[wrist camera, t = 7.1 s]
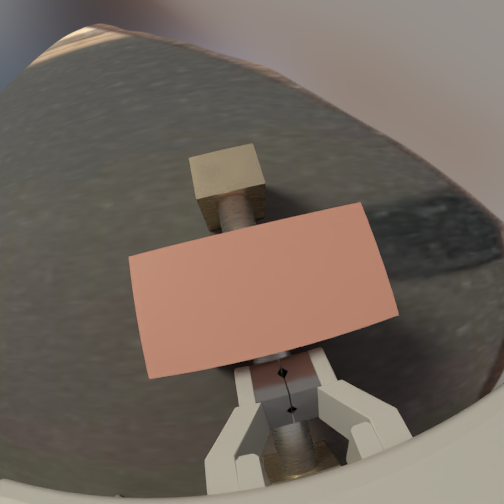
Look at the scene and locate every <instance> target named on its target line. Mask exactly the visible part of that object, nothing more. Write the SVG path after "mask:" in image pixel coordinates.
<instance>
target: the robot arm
mask: <svg viewBox="0 0 504 504" xmlns="http://www.w3.org/2000/svg"><path fill="white" fill-rule="evenodd" d="M234 375H235V382H236V388H237V395H238V401H239V407H236V408H235V409H234V411H233V412H232V414H231V416H230V418H229V419H228V421H227V423H226V425H225V426H224V428H223V430H222V432H221V433H220V435H219V437H218V439H217V440H216V442H215V444H214V445H213V447H212V449H211V450H210V452H209V454H208V455H207V457H206V459H205V472H206V484H207V495H204V496H192V497H174V498H125V497H108V496H96V495H87V494H78V493H71V492H65V491H58V490H53V489H47V488H42V487H38V486H33V485H29V484H24V483H20V482H17V481H13V480H9V479H1V480H0V504H504V383H503V384H502V385H500V386H499V387H498V388H496V389H495V390H493V391H492V392H491V393H489V394H488V395H486V396H485V397H483V398H482V399H480V400H479V401H477V402H475V403H474V404H472V405H471V406H469V407H468V408H466V409H464V410H463V411H461V412H459V413H458V414H456V415H454V416H453V417H451V418H449V419H447V420H445V421H444V422H442V423H440V424H438V425H436V426H434V427H433V428H431V429H429V430H427V431H425V432H423V433H421V434H419V435H417V436H415V437H412V435H411V434H410V432H409V430H408V428H407V426H406V425H405V423H404V421H403V419H402V417H401V416H400V414H399V412H398V410H397V408H395V407H393V406H391V405H389V404H387V403H385V402H383V401H381V400H379V399H377V398H375V397H374V396H372V395H370V394H368V393H366V392H364V391H362V390H360V389H358V388H357V387H355V386H353V385H351V384H349V383H347V382H346V381H344V380H339V381H338V380H337V378H336V376H335V373H334V371H333V369H332V367H331V365H330V363H329V361H328V359H327V357H326V354H325V352H324V350H323V348H321V347H319V348H315V349H312V350H308V351H304V352H301V353H297V354H294V355H290V356H287V357H283V358H279V361H278V359H277V360H273V361H268V362H264V363H259V364H254V365H249V366H245V367H241V368H236V369H234ZM292 415H293V416H292ZM316 417H319V418H320V419H321V420H323V421H324V422H325V423H327V424H328V425H329V426H331V427H332V428H333V429H335V430H336V431H337V432H339V433H340V434H342V435H343V436H344V437H346V438H347V439H348V440H349V445H348V451H347V457H346V461H347V465H344V466H341V467H338V468H335V469H332V470H329V471H325V472H322V473H319V474H315V475H312V476H308V477H304V478H300V479H297V480H293V481H288V482H284V483H280V484H275V485H271V483H270V480H269V477H268V475H267V473H266V471H265V469H264V467H263V465H262V463H261V461H260V456H261V453H262V451H263V448H264V446H265V443H266V441H267V438H268V436H269V433H270V429H274V428H278V427H282V426H285V425H289V424H292V423H294V422H293V418H294V421H295V423H296V422H300V421H304V420H308V419H312V418H316Z"/></svg>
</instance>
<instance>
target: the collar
mask: <svg viewBox="0 0 504 504" xmlns="http://www.w3.org/2000/svg"><path fill="white" fill-rule="evenodd" d="M129 264H130V272H131V280H132V288H133V295H134V301H135V308H136V314H137V320H138V326H139V332H140V337H141V342H142V347H143V352H144V357H145V362H146V367H147V371H148V376H149V379H152V378H158V377H165V376H171V375H177V374H182V373H188V372H193V371H199V370H204V369H209V368H214V367H219V366H224V365H228V364H233V363H237V362H242V361H246V360H251V359H255V358H259V357H263V356H267V355H271V354H275V353H279V352H283V351H287V350H290V349H294V348H298V347H301V346H305V345H309V344H312V343H315V342H319V341H322V340H326V339H329V338H332V337H336V336H339V335H342V334H345V333H348V332H351V331H354V330H357V329H361V328H364V327H366V326H369V325H372V324H375V323H378V322H381V321H384V320H387V319H389V318H392V317H395V316H398V315H399V313H398V309H397V306H396V302H395V299H394V296H393V293H392V289H391V286H390V283H389V280H388V277H387V274H386V271H385V268H384V265H383V262H382V259H381V256H380V253H379V250H378V247H377V244H376V242H375V239H374V236H373V233H372V231H371V228H370V225H369V223H368V220H367V218H366V215H365V212H364V210H363V207H362V205H361V202H359V203H354V204H349V205H345V206H340V207H335V208H331V209H326V210H322V211H317V212H312V213H308V214H303V215H299V216H295V217H290V218H286V219H281V220H277V221H273V222H268V223H264V224H260V225H255V226H251V227H247V228H243V229H238V230H234V231H230V232H226V233H222V234H217V235H213V236H209V237H205V238H201V239H197V240H193V241H189V242H185V243H181V244H177V245H173V246H169V247H165V248H161V249H157V250H153V251H149V252H145V253H141V254H138V255H134V256H130V257H129Z"/></svg>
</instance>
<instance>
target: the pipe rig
mask: <svg viewBox="0 0 504 504" xmlns="http://www.w3.org/2000/svg"><path fill="white" fill-rule="evenodd" d="M189 161H190V167H191V173H192V178H193V184H194V190H195V195H196V200H197V202H198V205H199V207H200V210H201V212H202V215H203V217H204V220H205V222H206V224H207V227H208V229H209V231H210V230H214V229H218V228H222V232H223V233H226V232H230V231H234V230H238V229H243V228H247V227H251V226H255V225H256V222H255V220H257V219H261V218H264V216H265V181H264V177H263V174H262V171H261V168H260V165H259V161H258V158H257V155H256V152H255V149H254V146H253V143H252V144H247V145H242V146H238V147H233V148H228V149H224V150H220V151H215V152H211V153H207V154H203V155H199V156H195V157H191V158H189ZM290 355H291V354H290V350H287V351H283V352H279V353H275V354H271V355H267V356H263V357H259V358H255V359H253V363H254V364H259V363H264V362H268V361H273V360H277V359H278V361H279V358H283V357H287V356H290ZM292 416H293V415H292ZM293 422H294V423H292V424H289V425H285V426H282V427H278V428H274V429H271V432H272V436H273V439H274V443H275V447H276V450H277V454H272V455H268V456H264V469H265V471H266V473H267V475H268V477H269V480H270V483H271V485H275V484H280V483H284V482H288V481H293V480H297V479H300V478H304V477H308V476H312V475H315V474H319V473H322V472H325V471H329V470H332V469H335V468H338V467H341V465H340V463H339V462H338V460H337V459H336V458H335V456H334V455H333V454H332V452H331V451H330V450H329V448H328V447H327V445H326V444H325V443H324V441H321V442H318V443H315V444H313V441H312V437H311V433H310V429H309V425H308V421H307V420H304V421H300V422H296V423H295V421H294V418H293Z"/></svg>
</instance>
